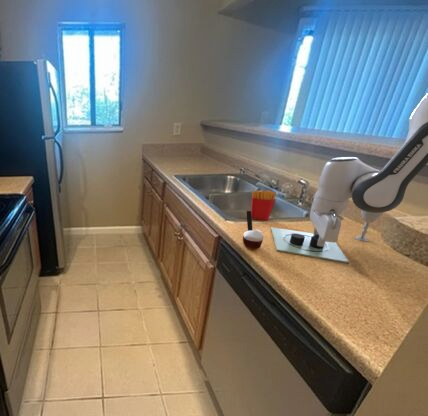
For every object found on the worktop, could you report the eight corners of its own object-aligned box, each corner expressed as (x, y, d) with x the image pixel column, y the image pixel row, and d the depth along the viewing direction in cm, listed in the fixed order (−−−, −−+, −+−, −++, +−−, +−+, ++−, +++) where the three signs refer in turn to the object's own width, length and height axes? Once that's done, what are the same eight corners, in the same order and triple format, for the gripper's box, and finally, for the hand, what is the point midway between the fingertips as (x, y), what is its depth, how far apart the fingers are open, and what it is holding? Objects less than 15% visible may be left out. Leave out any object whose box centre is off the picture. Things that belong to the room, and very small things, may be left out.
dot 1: (301, 241, 100) (303, 234, 99) (303, 246, 97) (306, 239, 96) (288, 239, 102) (290, 232, 101) (290, 244, 99) (292, 237, 98)
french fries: (269, 217, 123) (275, 189, 119) (271, 221, 119) (277, 192, 115) (246, 215, 126) (251, 188, 121) (248, 218, 122) (253, 191, 117)
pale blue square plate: (331, 237, 105) (331, 235, 104) (348, 263, 88) (349, 261, 87) (270, 228, 113) (271, 226, 112) (276, 250, 96) (276, 249, 96)
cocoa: (262, 254, 94) (269, 222, 89) (242, 251, 96) (248, 219, 92) (258, 241, 102) (265, 212, 98) (240, 239, 104) (245, 210, 100)
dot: (321, 244, 98) (324, 237, 97) (324, 249, 95) (327, 242, 93) (308, 242, 100) (310, 235, 98) (310, 247, 96) (313, 239, 95)
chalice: (369, 250, 95) (388, 201, 89) (345, 243, 100) (360, 196, 94) (375, 244, 99) (393, 197, 93) (351, 237, 104) (366, 192, 98)
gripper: (351, 218, 81) (337, 258, 86) (332, 197, 99) (321, 232, 104) (325, 214, 84) (313, 254, 89) (311, 195, 101) (301, 229, 106)
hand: (317, 242), depth 96 cm, fingers closed on dot, 4 cm apart
